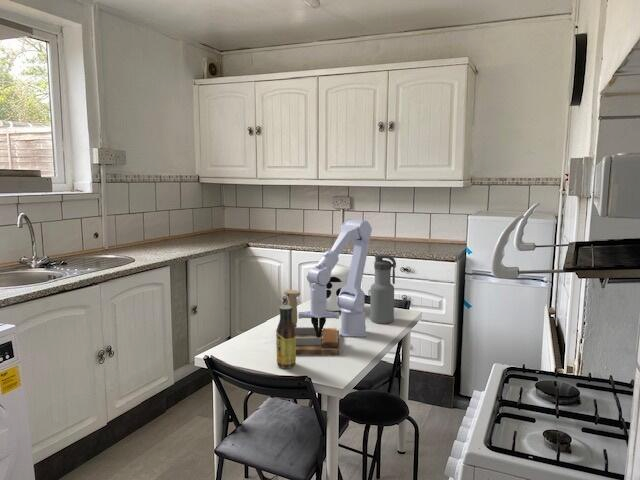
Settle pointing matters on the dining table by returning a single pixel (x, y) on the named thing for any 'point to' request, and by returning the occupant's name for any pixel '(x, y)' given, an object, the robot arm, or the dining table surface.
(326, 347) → the board
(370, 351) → the dining table surface
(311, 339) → the gray rectangular frame
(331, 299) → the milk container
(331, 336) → the block
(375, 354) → the dining table surface
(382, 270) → the water bottle
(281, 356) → the sauce bottle
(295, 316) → the handle
